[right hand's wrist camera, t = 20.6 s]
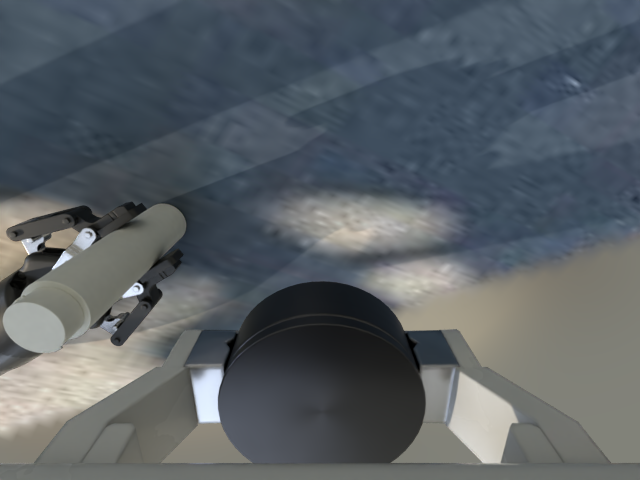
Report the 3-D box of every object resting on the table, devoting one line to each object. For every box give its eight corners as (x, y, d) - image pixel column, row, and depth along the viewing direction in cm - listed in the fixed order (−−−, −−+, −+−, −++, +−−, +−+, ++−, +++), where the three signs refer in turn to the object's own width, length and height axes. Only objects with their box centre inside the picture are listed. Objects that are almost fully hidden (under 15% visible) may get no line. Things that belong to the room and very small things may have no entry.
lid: (418, 404, 11) (437, 466, 9) (264, 432, 11) (253, 496, 10) (392, 262, 9) (410, 303, 7) (211, 301, 10) (185, 349, 8)
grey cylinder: (137, 214, 37) (-22, 315, 20) (170, 196, 36) (34, 283, 19) (161, 248, 38) (33, 368, 21) (194, 231, 38) (88, 341, 21)
